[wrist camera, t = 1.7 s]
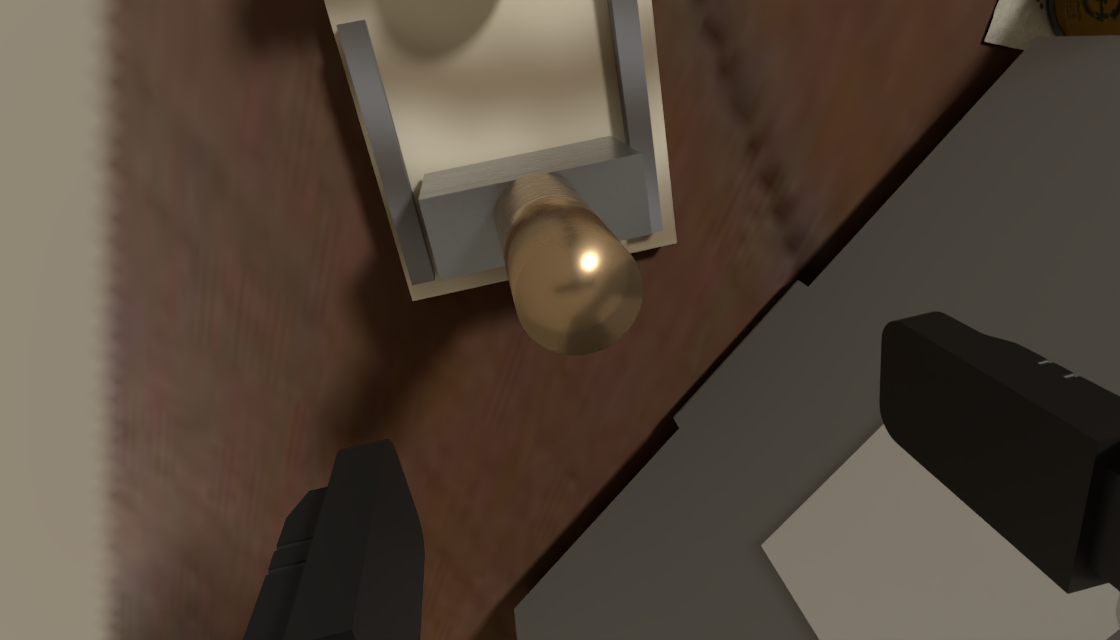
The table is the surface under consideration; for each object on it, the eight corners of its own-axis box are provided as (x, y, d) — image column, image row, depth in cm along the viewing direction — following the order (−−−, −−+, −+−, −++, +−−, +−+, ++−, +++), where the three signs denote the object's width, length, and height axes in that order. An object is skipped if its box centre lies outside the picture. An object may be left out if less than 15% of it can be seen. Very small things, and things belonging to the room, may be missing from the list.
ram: (423, 171, 27) (400, 270, 15) (610, 133, 27) (731, 198, 15) (442, 244, 28) (435, 389, 16) (620, 206, 28) (739, 318, 17)
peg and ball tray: (279, -170, 23) (209, -257, 16) (618, -226, 24) (682, -331, 17) (414, 291, 30) (403, 359, 24) (668, 236, 31) (726, 286, 25)
